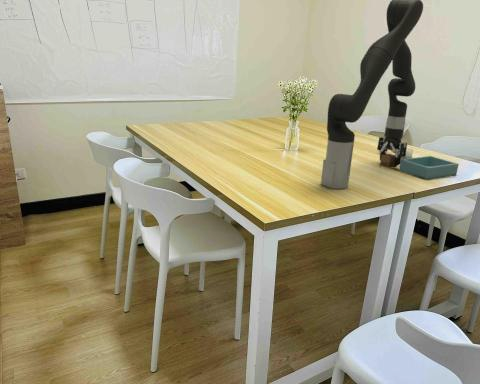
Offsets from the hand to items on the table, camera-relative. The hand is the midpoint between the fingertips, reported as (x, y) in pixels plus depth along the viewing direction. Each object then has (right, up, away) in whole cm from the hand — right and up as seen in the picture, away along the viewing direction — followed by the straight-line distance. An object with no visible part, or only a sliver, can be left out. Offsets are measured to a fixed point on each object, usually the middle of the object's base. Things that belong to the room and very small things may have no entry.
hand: (389, 162), depth 172 cm
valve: (+9, +5, +20) cm, 22 cm away
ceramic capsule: (+9, 0, +5) cm, 10 cm away
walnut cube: (0, -1, +1) cm, 2 cm away
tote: (+13, -5, -8) cm, 16 cm away
